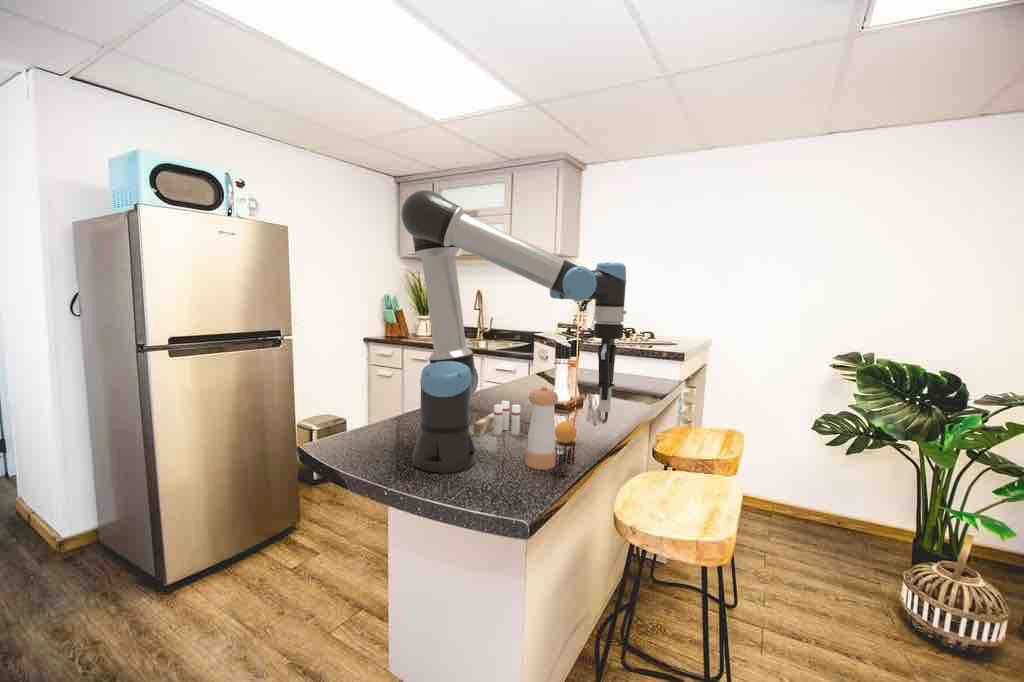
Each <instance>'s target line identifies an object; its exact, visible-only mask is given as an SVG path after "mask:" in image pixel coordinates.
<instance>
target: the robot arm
mask: <svg viewBox="0 0 1024 682" xmlns="http://www.w3.org/2000/svg"><path fill="white" fill-rule="evenodd" d="M401 219H402V220H401V221H402V224H403V227H404V228H405V230H406V231H407V232H408V233H409V235H411V236H412V240H413V241H412V242H413V248H414V254H415V255H416V256H417V257H418V258H420V260H421V264H422V269H423V270H422V271H423V278H424V286H425V292H426V293H425V294H426V299H427V307H428V315H429V323H430V330H431V331H430V332H431V339H432V346H433V351H432V353H431V355H430V356H428V357H429V358H428V359H429V364H427V365H425V366H424V367H423V369H422V370H421V375H420V379H419V383H420V418H419V419H420V420H419V423H420V426H419V427H420V429H419V433H418V435H417V439H416V442H415V445H414V448H413V449H412V450H413V451H412V460H411V462H413V463H412V465H413V464H414V465H415V466H416V467H418V468H420V469H422V470H421V471H423V470H426V471H425V472H427V471H431V472H430V473H432V472H439V473H438V474H451V473H452V474H453V473H459V472H462V471H466V470H468V469H470V468H472V467H473V466H474V465H475V464H476V460H477V458H476V457H477V452H476V448H475V445H474V441H473V437H472V435H471V431H470V415H471V412H470V411H471V399H472V397H473V395H474V394H475V392H476V390H477V388H478V384H479V374H478V373H479V372H477V369H476V367H475V360H474V354H473V353H474V352H473V350H471V349H470V348H469V347H468V346H467V343H466V341H467V340H466V334H465V327H464V317H463V309H462V303H461V295H460V294H461V293H460V286H459V278H458V271H457V262H456V255H457V254H458V252H459V251H460V249H461V250H463V251H465V252H467V253H469V254H472V255H474V256H476V257H478V258H480V259H483V260H485V261H487V262H489V263H491V264H494V265H495V266H498V267H501V268H502V269H504V270H508V271H509V272H512V273H514V274H516V275H518V276H521V277H523V278H525V279H526V280H529V281H531V282H534V283H536V284H538V285H540V286H542V287H545V288H546V289H549V296H550V298H551V299H559V300H572V301H575V302H582V301H585V300H594V315H593V316H594V317H593V320H594V322H595V323H594V325H593V337H594V338H597V339H601V341H600V344H599V345H598V352H597V357H598V384H596V387H597V388H599V402H598V403H599V407H598V408H599V409H598V412H604V413H605V412H606V413H610V412H611V404H612V403H611V400H612V387H613V388H614V387H615V383H614V374H615V363H616V362H615V361H616V352H617V345H616V344H615V340H620V339H622V338H624V324H623V322H624V319H625V316H624V315H626V314H627V310H625V303H626V302H625V301H626V298H625V297H626V287H627V286H626V284H627V267H626V265H625V264H624V263H622V262H599V263H597V265H596V268H595V269H593V270H591V269H589V268H587V267H586V266H580V265H578V264H575V263H573V262H571V261H568V260H566V259H564V258H563V257H560V256H557V255H556V254H554V253H551V252H549V251H547V250H545V249H542V248H540V247H538V246H536V245H534V244H531V243H530V242H527V241H525V240H523V239H521V238H519V237H516V236H515V235H512V234H510V233H508V232H506V231H503V230H501V229H499V228H497V227H495V226H492V225H490V224H488V223H486V222H485V221H482V220H480V219H477V218H475V217H473V216H471V215H468V214H466V213H465V210H464V207H462V206H460V205H458V204H456V203H454V202H452V201H450V200H449V199H446V198H445V197H443V196H442V195H440V194H439V193H437V192H436V191H432V190H428V189H426V190H425V189H422V190H418V191H415V192H414V193H412V194H410V195H409V196H408V197H407V198H406V199H405V200H404V202H403V205H402V208H401ZM414 465H413V466H414ZM415 466H414V467H415ZM416 467H415V468H416ZM418 468H417V469H418ZM420 469H419V470H420Z"/></svg>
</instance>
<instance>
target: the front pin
mask: <svg viewBox="0 0 1024 682" xmlns="http://www.w3.org/2000/svg"><path fill="white" fill-rule="evenodd" d="M510 424H511V426H510V427H511V429H510V434H512V435H511V436H519V435H520V428H521V427H520V426H521V425H520V424H521V405H520V404H512V406H511V422H510Z"/></svg>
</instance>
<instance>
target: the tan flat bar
mask: <svg viewBox="0 0 1024 682" xmlns="http://www.w3.org/2000/svg"><path fill="white" fill-rule="evenodd" d="M493 427H494V411H493V412H492V413H490V414H488V415H486V416H484V417H482V418H481V419H479V420H477V421H476V422H474V423H473V434H472V435H473V436H475V437H479V438H480V437H481V436H483V435H485V433H487V432H489V431H491V430H492V429H493Z"/></svg>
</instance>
